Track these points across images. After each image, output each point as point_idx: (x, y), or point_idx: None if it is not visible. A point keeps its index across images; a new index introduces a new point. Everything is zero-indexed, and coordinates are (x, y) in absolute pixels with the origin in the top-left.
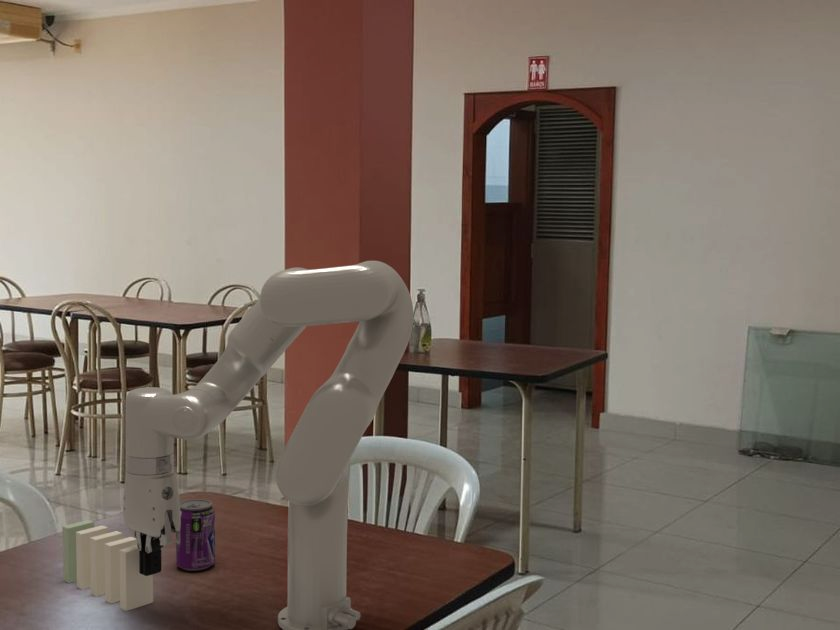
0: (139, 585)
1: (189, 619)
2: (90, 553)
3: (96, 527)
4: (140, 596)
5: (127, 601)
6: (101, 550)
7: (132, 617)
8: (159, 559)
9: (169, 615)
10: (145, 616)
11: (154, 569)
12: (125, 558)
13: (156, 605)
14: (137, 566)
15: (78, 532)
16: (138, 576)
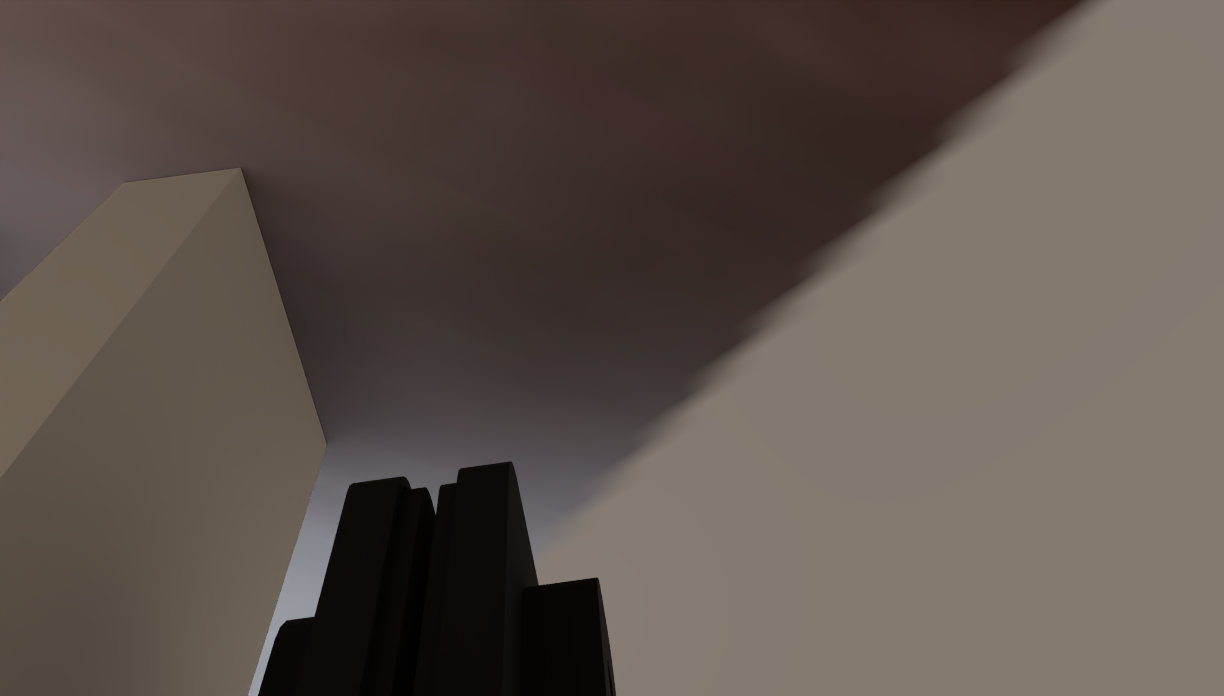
0: (229, 447)
1: (910, 86)
2: None
3: None
4: (257, 360)
5: (305, 488)
6: None
7: (499, 457)
8: (604, 693)
9: (677, 195)
10: (549, 370)
11: (609, 647)
12: None
13: (346, 177)
14: (151, 658)
15: None
16: (197, 536)
